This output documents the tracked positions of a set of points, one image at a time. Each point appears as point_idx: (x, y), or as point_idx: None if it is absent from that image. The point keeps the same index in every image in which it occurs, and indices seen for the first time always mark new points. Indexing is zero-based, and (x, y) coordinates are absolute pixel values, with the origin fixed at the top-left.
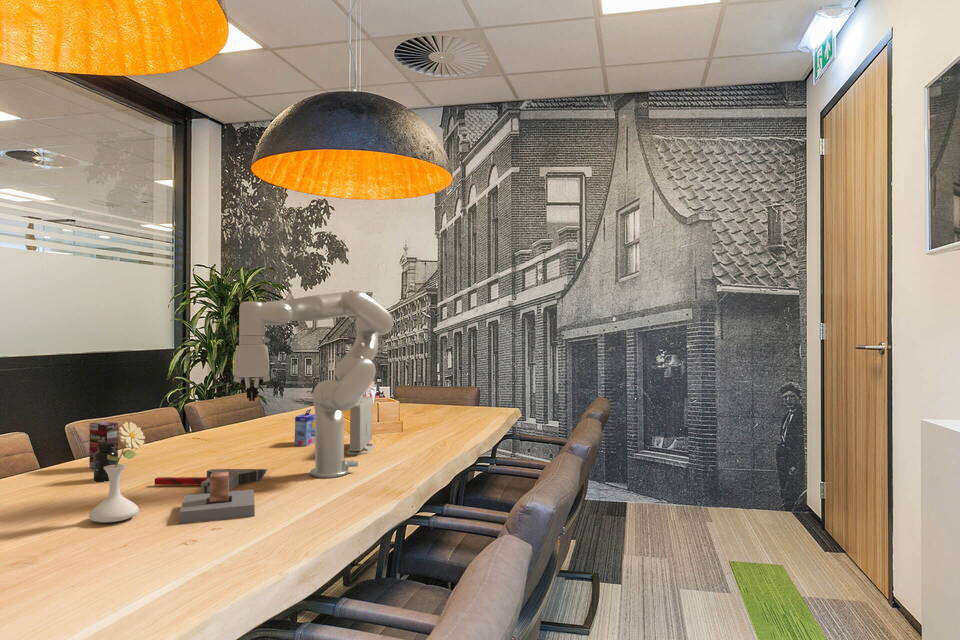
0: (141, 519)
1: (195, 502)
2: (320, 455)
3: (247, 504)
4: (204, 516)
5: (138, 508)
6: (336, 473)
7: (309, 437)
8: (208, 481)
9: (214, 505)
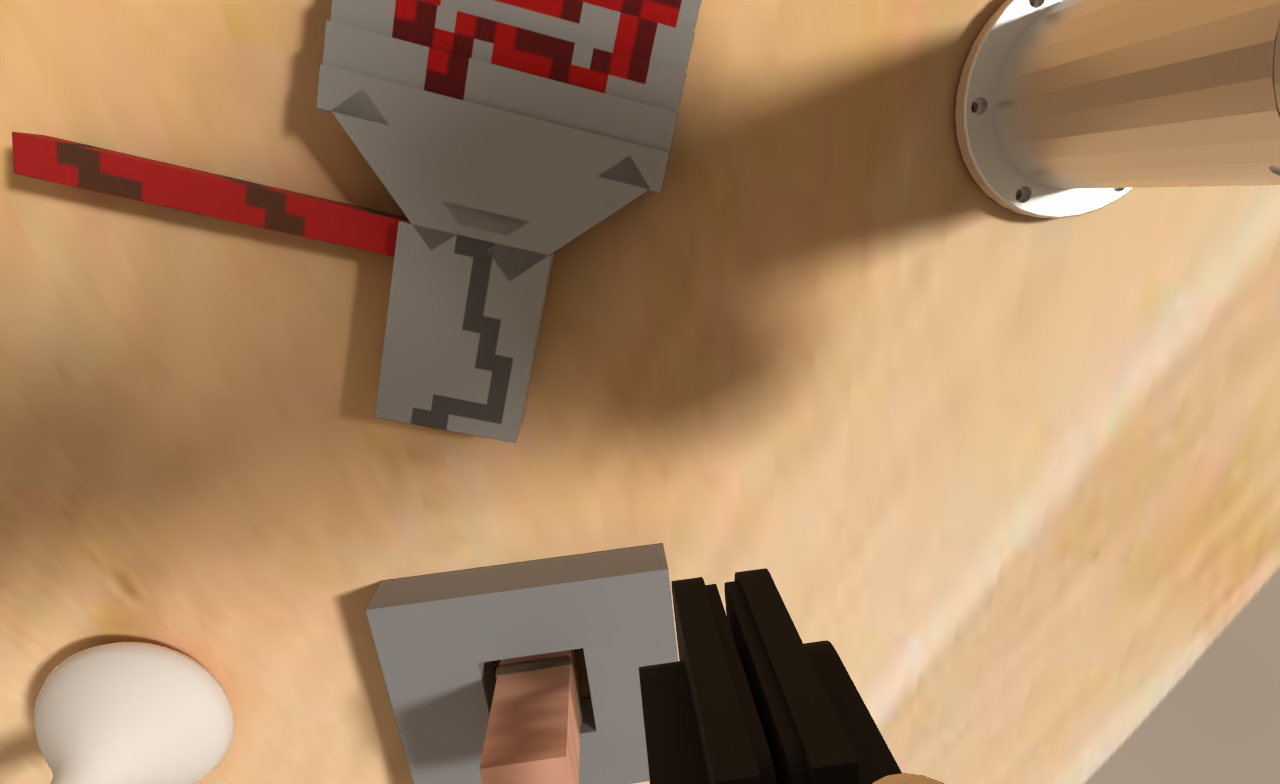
0: (267, 712)
1: (447, 716)
2: (1095, 161)
3: None
4: None
5: (220, 706)
6: (1097, 200)
7: None
8: (408, 395)
9: None
